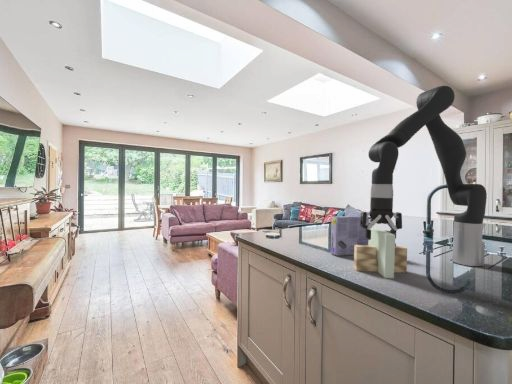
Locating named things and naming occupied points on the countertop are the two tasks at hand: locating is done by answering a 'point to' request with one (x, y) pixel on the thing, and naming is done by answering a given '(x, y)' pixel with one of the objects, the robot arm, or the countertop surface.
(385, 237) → the sage board
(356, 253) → the oak u-shaped block
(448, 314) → the countertop surface
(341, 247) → the cake pan box
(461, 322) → the countertop surface
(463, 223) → the robot arm
